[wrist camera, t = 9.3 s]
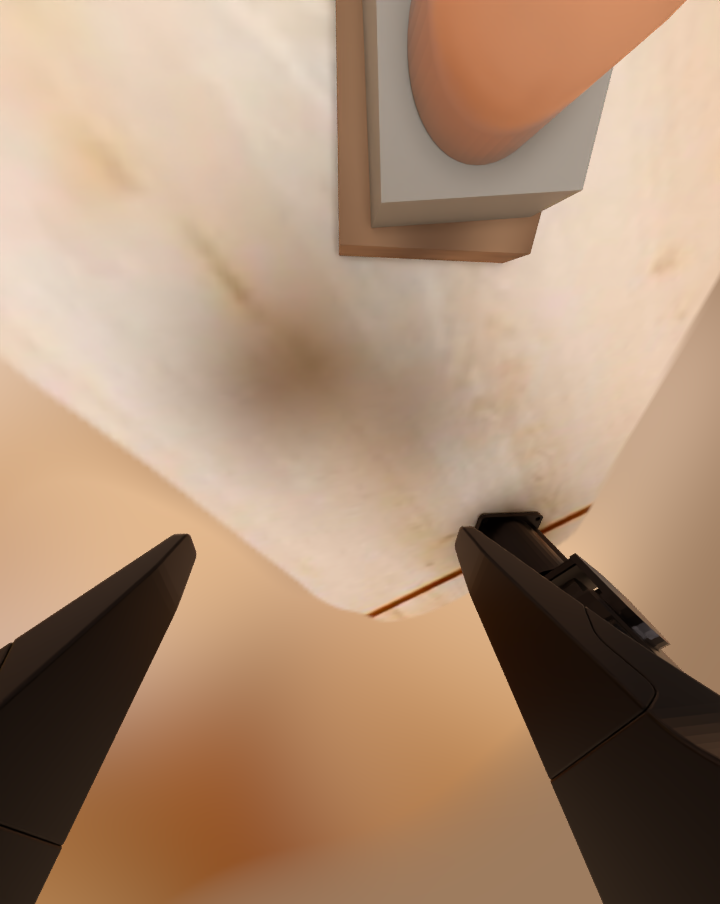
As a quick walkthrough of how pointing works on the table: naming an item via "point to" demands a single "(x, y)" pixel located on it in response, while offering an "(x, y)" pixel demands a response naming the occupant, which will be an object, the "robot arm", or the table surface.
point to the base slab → (355, 232)
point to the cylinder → (514, 64)
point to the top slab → (443, 178)
